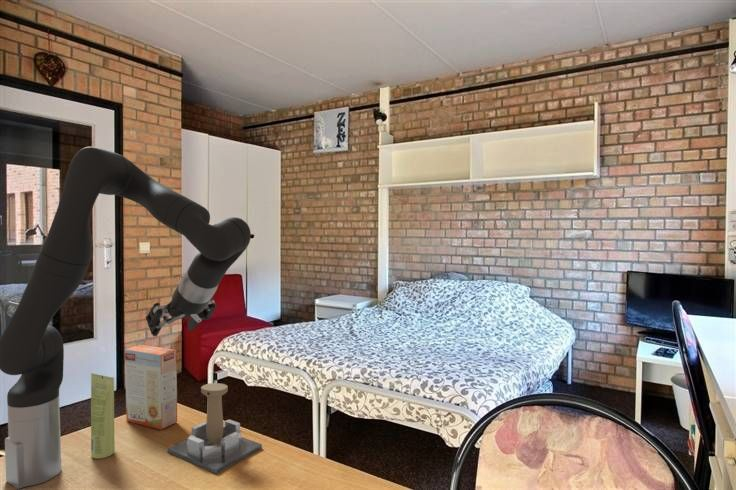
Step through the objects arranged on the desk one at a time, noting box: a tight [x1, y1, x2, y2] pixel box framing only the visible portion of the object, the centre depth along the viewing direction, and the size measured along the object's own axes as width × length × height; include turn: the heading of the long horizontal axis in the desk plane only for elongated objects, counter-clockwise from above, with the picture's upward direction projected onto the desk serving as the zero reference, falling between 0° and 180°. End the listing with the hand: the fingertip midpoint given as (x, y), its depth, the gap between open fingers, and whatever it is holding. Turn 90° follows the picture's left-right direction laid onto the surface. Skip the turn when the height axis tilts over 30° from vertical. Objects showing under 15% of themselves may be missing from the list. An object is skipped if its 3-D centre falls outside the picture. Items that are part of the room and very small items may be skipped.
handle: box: [200, 382, 229, 446], centre depth 112 cm, size 5×6×15 cm
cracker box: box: [124, 344, 178, 431], centre depth 128 cm, size 14×6×21 cm, turn 65°
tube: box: [90, 372, 116, 459], centre depth 110 cm, size 6×5×20 cm
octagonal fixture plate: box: [166, 419, 263, 475], centre depth 113 cm, size 14×18×5 cm
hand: (172, 330), depth 108 cm, fingers open, 8 cm apart
